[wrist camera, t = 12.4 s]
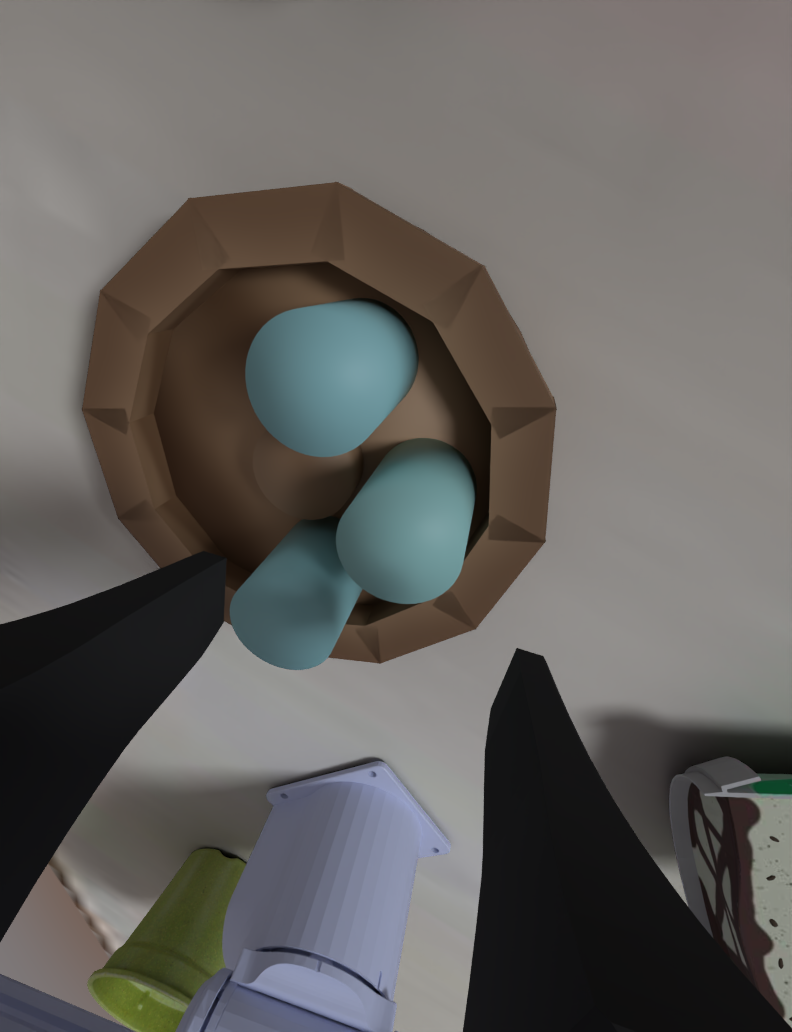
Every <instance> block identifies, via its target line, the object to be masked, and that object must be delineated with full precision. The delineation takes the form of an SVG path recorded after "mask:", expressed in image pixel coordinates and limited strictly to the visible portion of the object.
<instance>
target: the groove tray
mask: <svg viewBox="0 0 792 1032" xmlns="http://www.w3.org/2000/svg"><path fill="white" fill-rule="evenodd" d="M355 298H369V299H374V300H377V301H381V302H383V303H385V304H387V305H389V306H390V307H392V308H393V309H395V310H396V311H397V312H398V313H399V314H400V315H401V316H402V317H403V318H404V319H405V321H406V322H407V323H408V325H409V326H410V328H411V330H412V332H413V334H414V337H415V340H416V343H417V348H418V356H419V362H418V371H417V375H416V378H415V381H414V383H413V386H412V387H411V389H410V391H409V392H408V394H407V395H406V396H405V397H404V398H403V400H402V401H401V402H400V403H399V404H398V405H397V406H396V407H395V408H394V409H393V411H392V412H391V413H390V414H389V415H388V416H387V417H386V418H385V419H384V420H383V422H382V423H381V424H380V425H379V426H378V427H377V428H376V429H375V430H374V431H373V433H372V434H371V435H370V436H369V437H368V438H367V439H366V440H365V441H364V442H363V443H362V444H360V445H359V446H358V447H356V448H355V449H353V450H351V451H349V452H347V453H344V454H341V455H337V456H332V457H315V456H309V455H305V454H302V453H299V452H296V451H294V450H292V449H290V448H288V447H287V446H285V445H284V444H282V443H281V442H279V441H278V440H277V439H276V438H275V437H273V436H272V435H271V434H270V433H269V432H268V431H267V429H266V428H265V427H264V426H263V424H262V423H261V421H260V420H259V418H258V417H257V415H256V413H255V411H254V409H253V407H252V405H251V402H250V399H249V396H248V392H247V387H246V379H245V368H246V360H247V356H248V352H249V349H250V346H251V344H252V341H253V340H254V338H255V336H256V334H257V333H258V332H259V331H260V329H261V328H262V327H263V326H264V325H265V324H266V323H267V322H268V321H269V320H271V319H272V318H274V317H275V316H277V315H279V314H281V313H283V312H285V311H289V310H292V309H297V308H303V307H308V306H314V305H320V304H325V303H331V302H337V301H343V300H348V299H355ZM556 410H557V409H556V404H555V400H554V397H553V396H552V394H551V392H550V390H549V388H548V386H547V385H546V383H545V381H544V379H543V377H542V375H541V373H540V371H539V369H538V367H537V365H536V364H535V362H534V360H533V358H532V356H531V354H530V352H529V350H528V348H527V345H526V343H525V341H524V338H523V336H522V334H521V332H520V330H519V328H518V327H517V325H516V323H515V322H514V320H513V318H512V317H511V315H510V314H509V312H508V310H507V308H506V306H505V304H504V302H503V300H502V299H501V297H500V295H499V293H498V291H497V289H496V287H495V285H494V283H493V281H492V279H491V278H490V276H489V274H488V272H487V270H486V268H485V266H484V265H482V264H480V263H478V262H476V261H475V260H473V259H471V258H469V257H468V256H466V255H464V254H463V253H461V252H459V251H457V250H456V249H454V248H452V247H450V246H449V245H447V244H445V243H444V242H442V241H440V240H438V239H437V238H435V237H433V236H432V235H430V234H429V233H427V232H426V231H424V230H422V229H420V228H418V227H416V226H414V225H412V224H411V223H409V222H407V221H405V220H404V219H402V218H400V217H399V216H397V215H395V214H393V213H392V212H390V211H388V210H386V209H385V208H383V207H381V206H380V205H378V204H376V203H374V202H373V201H371V200H369V199H367V198H366V197H364V196H362V195H360V194H359V193H357V192H355V191H354V190H353V189H351V188H349V187H347V186H345V185H343V184H341V183H338V182H334V183H325V184H316V185H307V186H298V187H289V188H280V189H270V190H261V191H252V192H243V193H234V194H225V195H215V196H206V197H197V198H188V200H187V201H186V202H185V203H184V204H183V205H182V206H181V208H180V209H179V210H178V211H177V212H176V213H175V214H174V215H173V216H172V217H171V218H170V219H169V220H168V221H167V222H166V223H165V224H164V225H163V226H162V227H161V228H160V229H159V230H158V231H157V232H156V234H155V235H154V236H153V237H152V238H151V239H150V240H149V241H148V242H147V243H146V244H145V245H144V246H143V247H142V248H141V249H140V250H139V251H138V252H137V253H136V254H135V255H134V256H133V257H132V259H131V260H130V261H129V262H128V263H127V264H126V265H125V266H124V267H123V268H122V269H121V270H120V271H119V272H118V273H117V274H116V275H115V276H114V277H113V278H112V279H111V280H110V281H109V282H108V283H107V285H106V286H105V287H104V288H103V289H102V290H100V296H99V303H98V309H97V316H96V322H95V329H94V335H93V342H92V348H91V355H90V361H89V368H88V375H87V381H86V388H85V394H84V401H83V407H82V411H83V414H84V417H85V420H86V423H87V426H88V429H89V432H90V435H91V438H92V441H93V444H94V447H95V450H96V453H97V456H98V459H99V462H100V465H101V468H102V471H103V474H104V477H105V480H106V483H107V486H108V489H109V492H110V495H111V498H112V501H113V504H114V507H115V510H116V513H117V516H118V519H119V520H120V521H121V522H122V523H123V525H124V526H125V527H126V528H127V529H128V530H129V532H130V533H131V534H132V535H133V536H134V537H135V539H136V540H137V541H138V542H139V543H140V545H141V546H142V547H143V548H144V549H145V550H146V552H147V553H148V554H149V555H150V556H151V557H152V559H153V560H154V561H155V562H156V563H157V564H158V566H159V567H160V568H163V567H165V566H168V565H170V564H172V563H175V562H177V561H180V560H182V559H184V558H187V557H189V556H192V555H194V554H197V553H199V552H202V551H206V552H209V553H212V554H215V555H219V556H222V557H225V558H227V560H226V582H225V605H224V621H225V622H227V623H229V624H231V625H232V623H231V619H230V604H231V601H232V598H233V596H234V594H235V593H236V592H237V590H238V589H239V588H240V587H241V586H242V585H243V584H244V582H245V581H246V580H247V579H248V578H249V577H250V576H251V574H252V573H253V572H254V571H255V570H256V569H257V568H258V567H259V565H260V564H261V563H262V562H263V561H264V560H265V559H266V557H267V556H268V555H269V554H270V553H271V552H272V551H273V550H274V548H275V547H276V546H277V545H278V544H279V543H280V542H281V540H282V539H283V538H284V537H285V536H286V535H287V534H288V533H289V531H290V530H291V529H292V528H293V527H294V526H295V525H296V524H297V523H298V522H299V521H301V520H302V519H306V520H317V519H322V518H326V517H328V516H333V517H337V518H340V519H341V517H342V515H343V514H344V513H345V511H346V510H347V508H348V507H349V505H350V504H351V503H352V501H353V500H354V499H355V497H356V496H357V494H358V493H359V492H360V490H361V489H362V487H363V486H364V485H365V483H366V482H367V480H368V479H369V478H370V476H371V475H372V474H373V472H374V471H375V469H376V468H377V467H378V465H379V464H380V462H381V461H382V460H383V458H384V457H385V455H386V454H387V453H388V452H389V451H390V450H391V449H392V448H394V447H395V446H397V445H398V444H400V443H402V442H404V441H407V440H410V439H415V438H432V439H437V440H440V441H443V442H445V443H448V444H449V445H451V446H453V447H454V448H456V449H457V450H459V451H460V452H461V453H462V454H463V455H464V456H465V458H466V459H467V460H468V461H469V463H470V465H471V466H472V469H473V471H474V474H475V477H476V482H477V494H476V500H475V505H474V510H473V515H472V520H471V525H470V530H469V536H468V541H467V546H466V551H465V556H464V561H463V566H462V569H461V572H460V574H459V576H458V578H457V580H456V581H455V582H454V584H453V585H452V586H451V587H450V588H449V589H448V590H447V591H446V592H444V593H443V594H442V595H440V596H438V597H436V598H434V599H432V600H429V601H426V602H422V603H416V604H399V603H394V602H389V601H386V600H383V599H380V598H378V597H375V596H374V595H372V594H370V593H368V592H367V591H365V590H364V589H362V591H361V593H360V595H359V597H358V599H357V601H356V603H355V605H354V607H353V609H352V611H351V613H350V616H349V618H348V620H347V622H346V624H345V626H344V628H343V630H342V632H341V634H340V636H339V638H338V640H337V642H336V644H335V646H334V648H333V650H332V652H331V654H330V655H329V658H338V659H347V660H355V661H364V662H373V663H379V664H380V663H383V662H385V661H388V660H391V659H394V658H396V657H399V656H402V655H405V654H408V653H410V652H413V651H416V650H419V649H421V648H424V647H427V646H430V645H433V644H435V643H438V642H441V641H444V640H446V639H449V638H452V637H455V636H457V635H460V634H463V633H466V632H469V631H471V630H474V629H476V628H477V627H478V625H479V624H480V623H481V622H482V620H483V619H484V618H485V617H486V615H487V614H488V613H489V612H490V610H491V609H492V608H493V607H494V605H495V604H496V603H497V602H498V600H499V599H500V598H501V597H502V595H503V594H504V593H505V592H506V590H507V589H508V588H509V587H510V585H511V584H512V583H513V582H514V580H515V579H516V578H517V577H518V575H519V574H520V573H521V572H522V570H523V569H524V568H525V567H526V565H527V564H528V563H529V561H530V560H531V559H532V558H533V556H534V555H535V554H536V553H537V551H538V550H539V549H540V548H541V546H542V545H543V544H544V543H545V541H546V540H545V536H546V524H547V512H548V500H549V488H550V476H551V464H552V452H553V440H554V428H555V416H556Z"/></svg>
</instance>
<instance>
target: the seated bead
mask: <svg viewBox="0 0 792 1032" xmlns="http://www.w3.org/2000/svg"><path fill="white" fill-rule="evenodd" d="M339 522H340V518H337V517H333V516H328V517H326V518H322V519H317V520H306V519H302V520H301V521H299V522H298V523H297V524H296V525H295V526H294V527H293V528H292V529H291V530H290V531H289V533H288V534H287V535H286V536H285V537H284V538H283V539H282V540H281V542H280V543H279V544H278V545H277V546H276V547H275V548H274V550H273V551H272V552H271V553H270V554H269V555H268V556H267V557H266V559H265V560H264V561H263V562H262V563H261V564H260V565H259V567H258V568H257V569H256V570H255V571H254V572H253V573H252V574H251V576H250V577H249V578H248V579H247V580H246V581H245V582H244V584H243V585H242V586H241V587H240V588H239V589H238V590H237V592H236V593H235V594H234V596H233V598H232V601H231V604H230V619H231V623H232V626H233V629H234V631H235V633H236V635H237V636H238V638H239V639H240V641H241V642H242V643H243V644H244V645H245V646H246V648H247V649H248V650H250V651H251V652H252V653H253V654H254V655H256V656H257V657H259V658H260V659H262V660H263V661H265V662H267V663H269V664H272V665H274V666H277V667H281V668H285V669H291V670H303V669H309V668H312V667H315V666H317V665H319V664H321V663H322V662H324V661H325V660H326V659H327V658H328V657H329V655H330V654H331V652H332V650H333V648H334V646H335V644H336V642H337V640H338V638H339V636H340V634H341V632H342V630H343V628H344V626H345V624H346V622H347V620H348V618H349V616H350V613H351V611H352V609H353V607H354V605H355V603H356V601H357V599H358V597H359V595H360V593H361V591H362V588H361V587H360V586H359V585H357V584H356V583H355V582H354V581H353V580H352V579H351V577H350V576H349V575H348V573H347V572H346V571H345V569H344V567H343V565H342V563H341V561H340V559H339V556H338V552H337V547H336V533H337V528H338V524H339Z"/></svg>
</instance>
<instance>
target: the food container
mask: <svg viewBox="0 0 792 1032" xmlns="http://www.w3.org/2000/svg"><path fill="white" fill-rule="evenodd" d="M669 811H670V822H671V829H672V836H673V842H674V847H675V853H676V858H677V862H678V867H679V871H680V876H681V880H682V884H683V888H684V892H685V896H686V900H687V903H688V907H689V909H690V910H691V911H692V912H693V914H694V915H695V916H696V918H697V919H698V920H699V921H700V923H701V924H702V925H703V926H704V927H705V929H706V930H707V931H708V932H709V934H710V935H711V936H712V937H713V938H714V940H715V941H716V942H717V943H718V944H719V946H720V947H721V948H722V949H723V951H724V952H725V953H726V954H727V955H728V957H729V958H730V959H731V960H732V961H733V963H734V964H735V965H736V966H737V967H738V968H739V970H740V971H741V972H742V973H743V974H744V975H745V976H746V978H747V979H748V980H749V981H750V982H751V983H752V984H753V985H754V986H755V988H756V989H757V990H758V991H759V992H760V993H761V994H762V995H763V996H764V998H765V999H766V1000H767V1001H768V1002H769V1003H770V1004H771V1005H772V1006H773V1008H774V1009H775V1010H776V1011H777V1012H778V1013H779V1014H780V1015H781V1017H782V1018H783V1019H784V1020H785V1021H786V1022H787V1023H788V1024H789V1025H790V1027H791V1028H792V774H756V773H755V772H754V771H753V770H752V769H751V768H749V767H748V766H747V765H746V764H744V763H742V762H741V761H739V760H737V759H735V758H731V757H728V756H726V757H721V758H718V759H714V760H711V761H708V762H704V763H701V764H698V765H694V766H691V767H689V768H688V769H687V770H686V771H685V773H684V774H679V775H676V776H675V777H674V778H673V779H672V782H671V785H670V792H669Z"/></svg>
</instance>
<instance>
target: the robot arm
mask: <svg viewBox="0 0 792 1032" xmlns="http://www.w3.org/2000/svg"><path fill="white" fill-rule="evenodd" d="M226 560H227V558H225V557H222V556H219V555H215V554H212V553H209V552H206V551H202V552H199V553H197V554H194V555H192V556H189V557H187V558H184V559H182V560H180V561H177V562H175V563H172V564H170V565H168V566H165V567H163V568H161V569H158V570H156V571H154V572H151V573H149V574H146V575H144V576H142V577H139V578H137V579H134V580H132V581H130V582H127V583H125V584H122V585H120V586H117V587H114V588H112V589H109V590H106V591H104V592H101V593H98V594H96V595H93V596H90V597H88V598H85V599H82V600H79V601H77V602H74V603H71V604H68V605H65V606H62V607H59V608H56V609H53V610H50V611H47V612H43V613H40V614H36V615H33V616H29V617H26V618H23V619H19V620H16V621H12V622H8V623H4V624H0V942H1V940H2V938H3V937H4V935H5V933H6V932H7V930H8V928H9V927H10V925H11V923H12V922H13V920H14V918H15V917H16V915H17V913H18V912H19V910H20V908H21V906H22V905H23V903H24V901H25V900H26V898H27V896H28V895H29V893H30V891H31V889H32V888H33V886H34V885H35V883H36V882H37V880H38V878H39V877H40V875H41V874H42V872H43V870H44V869H45V867H46V866H47V864H48V863H49V861H50V859H51V858H52V856H53V855H54V853H55V851H56V850H57V848H58V847H59V845H60V844H61V842H62V840H63V839H64V837H65V836H66V834H67V832H68V831H69V829H70V828H71V826H72V825H73V823H74V822H75V820H76V819H77V817H78V816H79V814H80V813H81V811H82V810H83V808H84V807H85V805H86V804H87V802H88V801H89V799H90V798H91V796H92V795H93V793H94V792H95V790H96V789H97V787H98V786H99V785H100V783H101V782H102V780H103V779H104V777H105V776H106V775H107V773H108V772H109V770H110V769H111V767H112V766H113V765H114V763H115V762H116V760H117V759H118V757H119V756H120V755H121V753H122V752H123V750H124V749H125V748H126V746H127V745H128V744H129V743H130V741H131V740H132V739H133V737H134V736H135V735H136V734H137V732H138V731H139V730H140V729H141V728H142V726H143V725H144V724H145V723H146V722H147V720H148V719H149V718H150V717H151V716H152V715H153V713H154V712H155V711H156V710H157V709H158V708H159V706H160V705H161V704H162V703H163V702H164V701H165V699H166V698H167V697H168V696H169V695H170V693H171V692H172V691H173V690H174V689H175V688H176V686H177V685H178V684H179V683H180V682H181V681H182V679H183V678H184V677H185V676H186V675H187V673H188V672H189V671H190V670H191V669H192V667H193V666H194V665H195V664H196V663H197V661H198V660H199V659H200V658H201V656H202V655H203V653H204V652H205V650H206V649H207V647H208V646H209V644H210V643H211V641H212V640H213V638H214V637H215V635H216V634H217V632H218V630H219V629H220V627H221V626H222V624H223V622H224V605H225V582H226ZM266 798H267V800H268V801H269V802H270V803H271V804H272V805H273V808H272V810H271V812H270V814H269V817H268V819H267V821H266V823H265V825H264V827H263V830H262V832H261V834H260V836H259V838H258V840H257V843H256V845H255V847H254V849H253V851H252V853H251V856H250V858H249V860H248V862H247V864H246V866H245V869H244V871H243V873H242V875H241V877H240V879H239V882H238V884H237V886H236V888H235V890H234V892H233V895H232V897H231V899H230V902H229V905H228V908H227V912H226V915H225V921H224V927H223V939H222V949H223V958H224V962H225V966H226V968H222V969H220V970H219V971H218V972H217V973H216V974H215V975H214V976H212V977H211V978H209V979H208V980H207V981H205V982H204V983H203V984H202V985H201V987H200V988H199V989H198V991H197V992H196V994H195V995H194V997H193V999H192V1000H191V1002H190V1004H189V1006H188V1007H187V1009H186V1011H185V1013H184V1015H183V1017H182V1019H181V1021H180V1023H179V1025H178V1027H177V1029H176V1031H175V1032H392V1031H393V1025H394V1019H395V1013H396V1007H397V1004H396V1003H395V1002H393V998H394V992H395V986H396V980H397V975H398V969H399V963H400V958H401V952H402V946H403V940H404V935H405V929H406V923H407V918H408V912H409V906H410V900H411V895H412V889H413V883H414V878H415V872H416V866H417V860H418V858H422V857H429V856H435V855H442V854H447V853H449V852H450V846H451V844H450V842H449V841H448V840H447V838H446V837H445V836H444V835H443V833H442V832H441V831H440V830H439V828H438V827H437V826H436V825H435V824H434V822H433V821H432V820H431V819H430V817H429V816H428V815H427V814H426V812H425V811H424V810H423V809H422V807H421V806H420V805H419V804H418V802H417V801H416V800H415V799H414V797H413V796H412V795H411V794H410V792H409V791H408V790H407V789H406V788H405V786H404V785H403V784H402V783H401V781H400V780H399V779H398V778H397V776H396V775H395V774H394V773H393V771H392V770H391V769H390V768H389V766H388V765H387V764H386V763H384V762H382V761H376V762H372V763H368V764H364V765H360V766H356V767H353V768H349V769H345V770H341V771H337V772H333V773H330V774H326V775H322V776H318V777H314V778H310V779H307V780H303V781H299V782H295V783H291V784H288V785H284V786H280V787H276V788H272V789H270V790H269V791H268V793H267V795H266ZM0 1032H136V1031H133V1030H131V1029H129V1028H126V1027H124V1026H122V1025H119V1024H117V1023H115V1022H112V1021H110V1020H107V1019H105V1018H103V1017H100V1016H98V1015H96V1014H93V1013H91V1012H88V1011H86V1010H84V1009H81V1008H79V1007H77V1006H75V1005H72V1004H70V1003H67V1002H65V1001H63V1000H60V999H58V998H55V997H53V996H51V995H48V994H46V993H44V992H42V991H39V990H37V989H35V988H32V987H30V986H28V985H25V984H23V983H20V982H18V981H16V980H13V979H11V978H9V977H6V976H4V975H2V974H0ZM395 1032H397V1031H395ZM463 1032H792V1028H791V1027H790V1025H789V1024H788V1023H787V1022H786V1021H785V1020H784V1019H783V1018H782V1017H781V1015H780V1014H779V1013H778V1012H777V1011H776V1010H775V1009H774V1008H773V1006H772V1005H771V1004H770V1003H769V1002H768V1001H767V1000H766V999H765V998H764V996H763V995H762V994H761V993H760V992H759V991H758V990H757V989H756V988H755V986H754V985H753V984H752V983H751V982H750V981H749V980H748V979H747V978H746V976H745V975H744V974H743V973H742V972H741V971H740V970H739V968H738V967H737V966H736V965H735V964H734V963H733V961H732V960H731V959H730V958H729V957H728V955H727V954H726V953H725V952H724V951H723V949H722V948H721V947H720V946H719V944H718V943H717V942H716V941H715V940H714V938H713V937H712V936H711V935H710V934H709V932H708V931H707V930H706V929H705V927H704V926H703V925H702V924H701V923H700V921H699V920H698V919H697V918H696V916H695V915H694V914H693V912H692V911H691V910H690V909H689V907H688V906H687V905H686V903H685V902H684V901H683V900H682V898H681V897H680V896H679V894H678V893H677V892H676V890H675V889H674V888H673V886H672V885H671V884H670V882H669V881H668V879H667V878H666V877H665V875H664V874H663V873H662V871H661V870H660V869H659V867H658V866H657V864H656V863H655V862H654V860H653V859H652V858H651V856H650V855H649V853H648V852H647V850H646V849H645V848H644V846H643V845H642V843H641V842H640V840H639V839H638V837H637V836H636V834H635V833H634V831H633V830H632V828H631V827H630V825H629V823H628V822H627V820H626V819H625V817H624V816H623V814H622V813H621V811H620V809H619V808H618V806H617V805H616V803H615V801H614V800H613V798H612V796H611V795H610V793H609V791H608V789H607V788H606V786H605V784H604V782H603V781H602V779H601V777H600V775H599V773H598V772H597V770H596V768H595V766H594V764H593V762H592V761H591V759H590V757H589V755H588V753H587V751H586V749H585V747H584V745H583V743H582V741H581V739H580V737H579V735H578V733H577V731H576V729H575V727H574V725H573V722H572V720H571V718H570V716H569V714H568V712H567V710H566V707H565V705H564V703H563V701H562V698H561V696H560V694H559V691H558V689H557V687H556V684H555V682H554V680H553V677H552V675H551V672H550V670H549V667H548V665H547V663H546V661H545V659H544V657H543V656H541V655H538V654H534V653H531V652H528V651H525V650H522V649H518V648H517V649H516V651H515V653H514V656H513V658H512V660H511V663H510V665H509V667H508V670H507V672H506V674H505V677H504V679H503V681H502V684H501V686H500V688H499V691H498V693H497V696H496V698H495V700H494V703H493V705H492V707H491V711H490V718H489V725H488V732H487V740H486V747H485V771H484V823H483V861H482V878H481V887H480V897H479V906H478V915H477V924H476V933H475V941H474V949H473V958H472V966H471V974H470V982H469V990H468V998H467V1005H466V1013H465V1020H464V1027H463Z"/></svg>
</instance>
